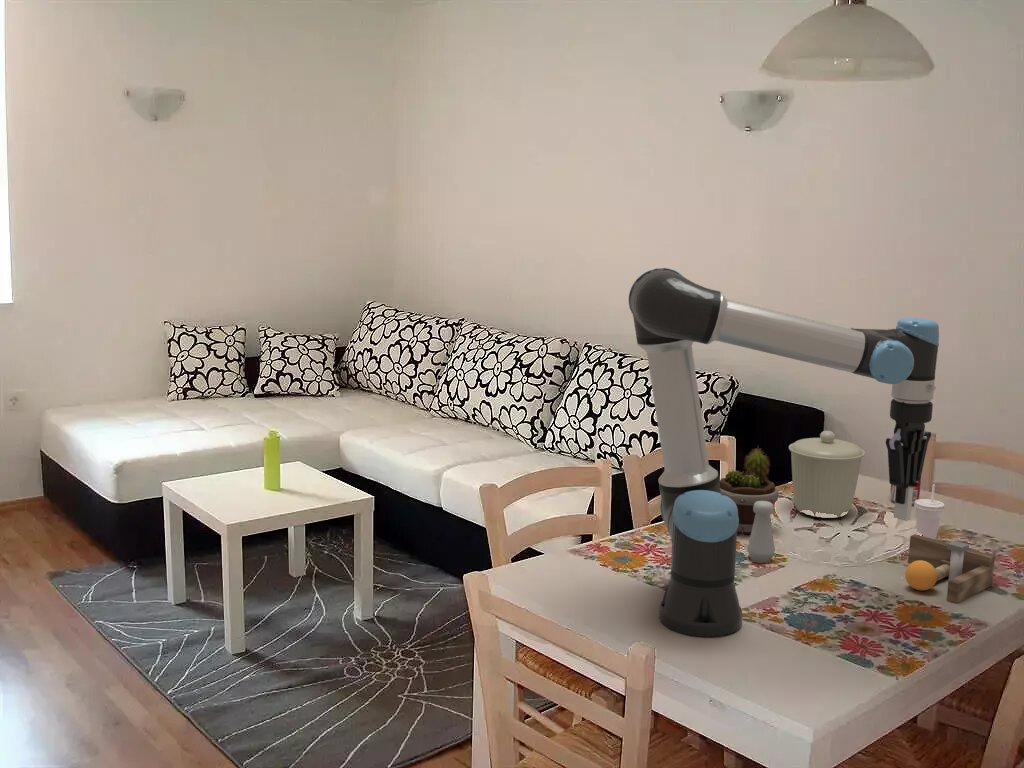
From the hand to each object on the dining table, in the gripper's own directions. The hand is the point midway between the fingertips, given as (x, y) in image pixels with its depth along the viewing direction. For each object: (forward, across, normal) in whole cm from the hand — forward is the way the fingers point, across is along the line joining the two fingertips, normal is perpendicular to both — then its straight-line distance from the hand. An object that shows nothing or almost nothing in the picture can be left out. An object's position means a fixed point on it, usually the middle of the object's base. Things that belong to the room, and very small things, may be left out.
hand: (901, 518), depth 204 cm
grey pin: (+16, +16, -4) cm, 23 cm away
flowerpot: (+17, +11, +45) cm, 49 cm away
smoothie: (+17, +36, +13) cm, 42 cm away
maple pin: (+15, +12, 0) cm, 19 cm away
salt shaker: (+17, -3, +30) cm, 34 cm away
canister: (+17, +37, +41) cm, 58 cm away
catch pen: (+16, +15, 0) cm, 22 cm away
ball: (+13, +8, -1) cm, 16 cm away
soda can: (+17, +62, +33) cm, 72 cm away
